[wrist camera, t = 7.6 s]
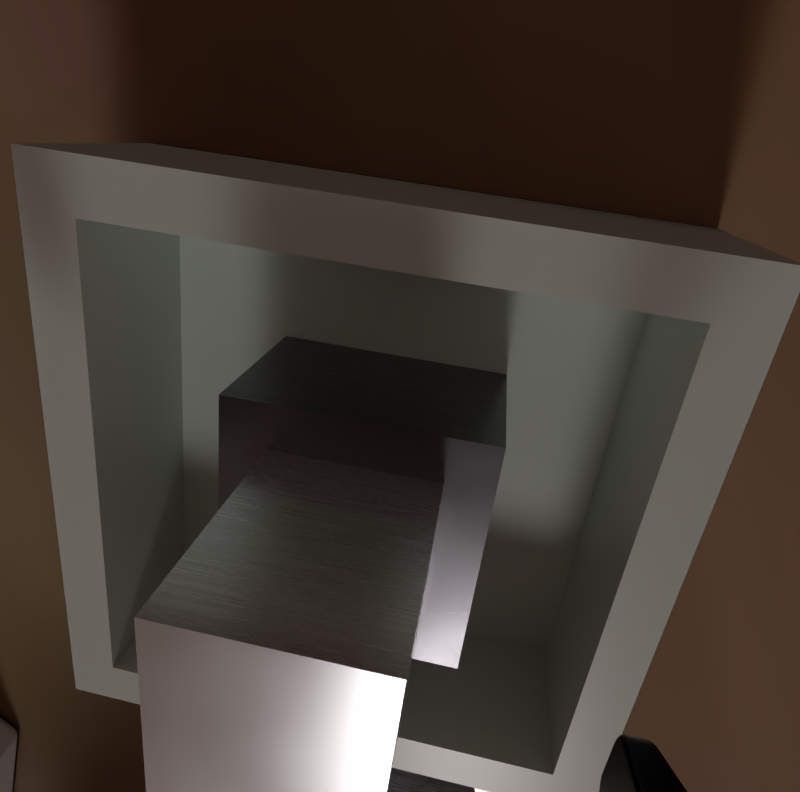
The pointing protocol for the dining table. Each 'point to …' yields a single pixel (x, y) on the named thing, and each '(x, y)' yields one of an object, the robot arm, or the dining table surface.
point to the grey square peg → (320, 571)
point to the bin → (415, 338)
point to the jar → (7, 755)
